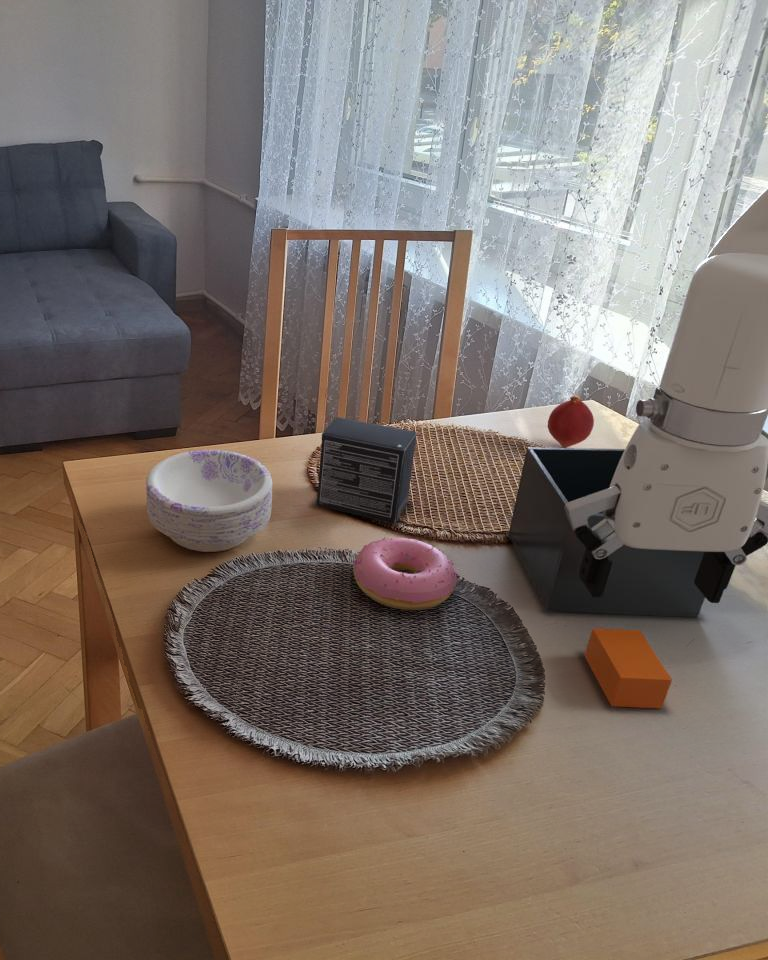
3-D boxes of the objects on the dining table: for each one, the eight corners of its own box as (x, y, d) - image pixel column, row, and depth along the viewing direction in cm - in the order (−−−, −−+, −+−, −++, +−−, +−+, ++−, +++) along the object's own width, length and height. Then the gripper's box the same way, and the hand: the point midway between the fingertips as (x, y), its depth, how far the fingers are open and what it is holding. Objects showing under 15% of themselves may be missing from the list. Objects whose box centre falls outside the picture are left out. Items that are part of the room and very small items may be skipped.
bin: (638, 539, 102) (665, 449, 97) (698, 617, 89) (733, 519, 84) (508, 535, 104) (527, 447, 98) (547, 611, 91) (572, 515, 85)
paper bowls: (131, 555, 103) (128, 498, 99) (166, 494, 115) (166, 441, 111) (256, 576, 98) (259, 517, 94) (279, 510, 111) (283, 455, 107)
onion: (555, 434, 127) (567, 384, 123) (594, 446, 123) (608, 395, 119) (535, 446, 124) (546, 395, 120) (575, 459, 120) (588, 407, 116)
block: (631, 657, 84) (640, 630, 83) (662, 709, 78) (672, 679, 77) (584, 656, 85) (592, 628, 83) (611, 706, 79) (620, 677, 77)
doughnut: (407, 631, 89) (412, 598, 87) (330, 580, 97) (333, 550, 95) (474, 593, 94) (481, 562, 92) (396, 549, 102) (400, 519, 100)
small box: (409, 502, 111) (420, 429, 106) (395, 526, 107) (406, 451, 101) (330, 484, 116) (337, 413, 111) (314, 506, 111) (320, 433, 106)
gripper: (610, 432, 66) (560, 612, 74) (854, 439, 64) (775, 622, 72) (576, 394, 72) (533, 563, 80) (796, 399, 70) (729, 571, 79)
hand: (647, 591), depth 76 cm, fingers open, 9 cm apart
